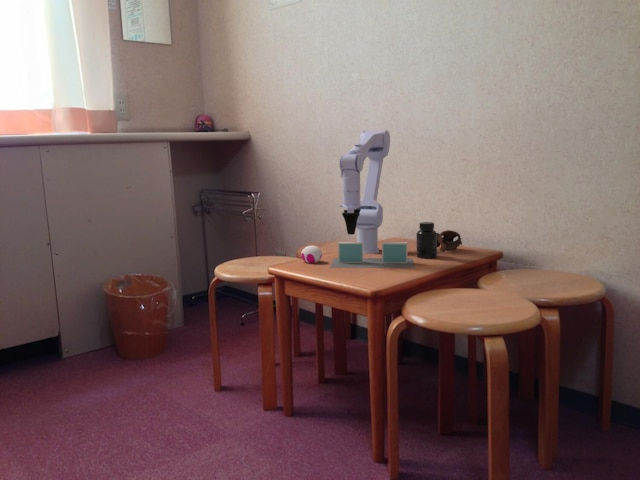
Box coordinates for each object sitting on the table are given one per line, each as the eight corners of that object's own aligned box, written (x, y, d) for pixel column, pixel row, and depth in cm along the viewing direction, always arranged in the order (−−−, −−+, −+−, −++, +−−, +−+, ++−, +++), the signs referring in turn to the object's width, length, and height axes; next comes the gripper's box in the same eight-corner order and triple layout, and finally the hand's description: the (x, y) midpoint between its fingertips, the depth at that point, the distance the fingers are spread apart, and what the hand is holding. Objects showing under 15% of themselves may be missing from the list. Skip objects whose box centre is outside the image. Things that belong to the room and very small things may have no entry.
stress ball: (300, 272, 186) (291, 257, 183) (313, 255, 190) (304, 241, 187) (317, 274, 181) (308, 259, 178) (330, 257, 185) (321, 242, 182)
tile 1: (338, 261, 184) (338, 241, 183) (363, 261, 183) (363, 242, 182) (338, 262, 182) (338, 242, 181) (363, 262, 182) (363, 243, 181)
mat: (334, 259, 191) (334, 257, 190) (412, 259, 188) (412, 258, 188) (330, 268, 176) (330, 267, 176) (414, 269, 173) (415, 267, 173)
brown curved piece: (465, 250, 206) (467, 232, 201) (453, 265, 201) (455, 247, 195) (435, 239, 212) (436, 222, 207) (423, 253, 207) (424, 236, 201)
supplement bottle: (431, 255, 194) (432, 221, 192) (440, 259, 188) (441, 223, 186) (413, 256, 193) (413, 221, 191) (421, 260, 186) (421, 224, 184)
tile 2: (381, 261, 183) (382, 242, 182) (406, 262, 182) (407, 242, 181) (382, 263, 181) (382, 243, 180) (407, 263, 180) (407, 243, 179)
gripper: (340, 189, 192) (340, 229, 194) (337, 193, 177) (338, 235, 180) (361, 189, 191) (361, 229, 193) (360, 193, 177) (360, 235, 179)
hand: (351, 232), depth 186 cm, fingers open, 7 cm apart
